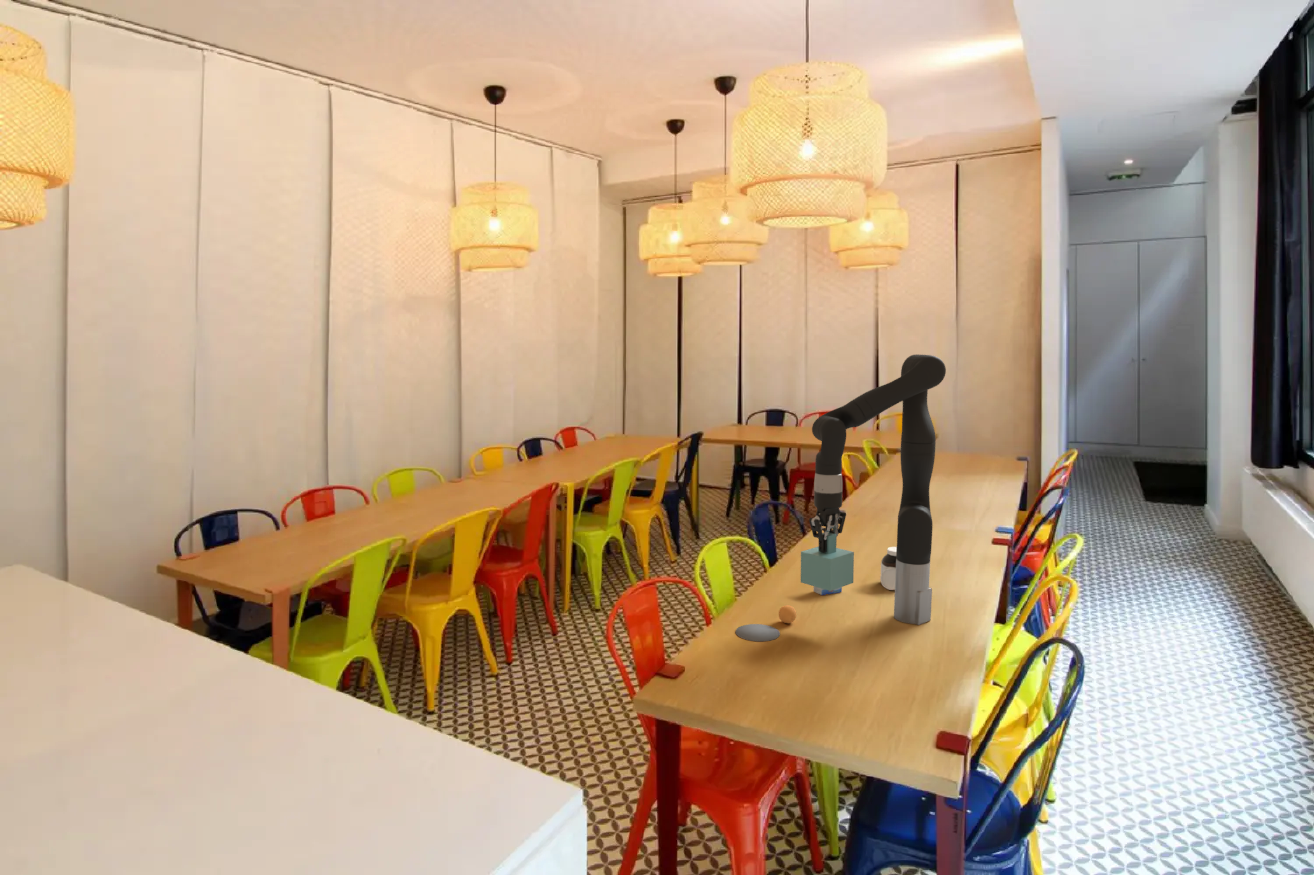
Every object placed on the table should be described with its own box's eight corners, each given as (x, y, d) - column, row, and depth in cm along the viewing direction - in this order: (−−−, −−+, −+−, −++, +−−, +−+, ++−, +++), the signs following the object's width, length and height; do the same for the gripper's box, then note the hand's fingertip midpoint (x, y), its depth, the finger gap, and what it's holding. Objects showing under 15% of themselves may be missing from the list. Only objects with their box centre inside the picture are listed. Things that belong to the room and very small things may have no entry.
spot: (789, 634, 213) (789, 633, 213) (758, 645, 206) (758, 644, 206) (757, 621, 222) (757, 620, 222) (726, 631, 215) (726, 630, 215)
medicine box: (820, 595, 244) (821, 569, 243) (812, 591, 248) (813, 565, 247) (842, 592, 247) (842, 566, 246) (833, 588, 251) (834, 562, 250)
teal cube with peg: (853, 582, 217) (854, 534, 215) (830, 591, 210) (831, 540, 208) (823, 574, 224) (824, 527, 222) (800, 582, 218) (801, 534, 216)
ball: (799, 623, 221) (800, 606, 220) (788, 627, 218) (788, 610, 217) (786, 618, 225) (786, 601, 224) (774, 622, 222) (775, 605, 221)
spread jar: (907, 580, 259) (909, 546, 258) (920, 591, 248) (922, 555, 247) (872, 580, 259) (873, 546, 257) (883, 591, 248) (884, 556, 246)
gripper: (823, 495, 206) (822, 558, 209) (855, 487, 215) (854, 548, 218) (800, 491, 212) (800, 553, 214) (833, 484, 221) (832, 543, 223)
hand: (827, 550), depth 216 cm, fingers closed on teal cube with peg, 3 cm apart
